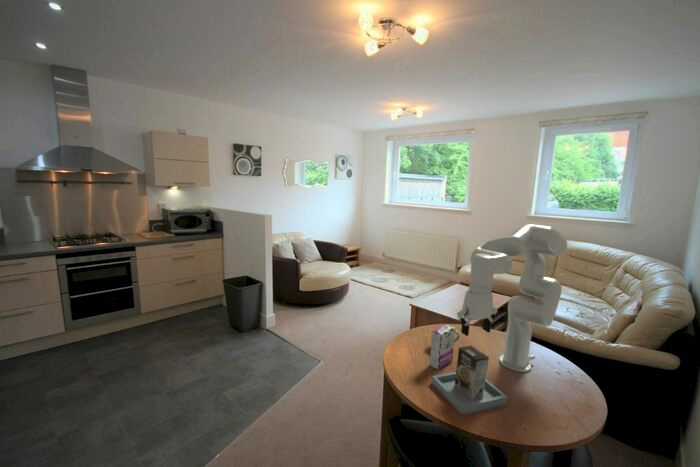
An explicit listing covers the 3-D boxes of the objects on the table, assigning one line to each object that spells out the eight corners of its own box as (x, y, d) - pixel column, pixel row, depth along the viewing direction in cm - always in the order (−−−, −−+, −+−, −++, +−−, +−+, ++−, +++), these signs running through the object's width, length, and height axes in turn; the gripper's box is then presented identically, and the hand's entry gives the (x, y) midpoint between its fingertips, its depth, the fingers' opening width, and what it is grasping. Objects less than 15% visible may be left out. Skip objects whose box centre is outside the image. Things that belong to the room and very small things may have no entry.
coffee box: (453, 385, 121) (458, 347, 119) (466, 382, 124) (471, 344, 121) (470, 400, 113) (475, 359, 111) (484, 397, 115) (489, 356, 113)
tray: (472, 375, 130) (473, 368, 130) (506, 404, 113) (507, 396, 113) (431, 383, 124) (432, 376, 123) (461, 415, 107) (462, 407, 106)
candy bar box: (442, 357, 143) (446, 323, 141) (452, 362, 140) (456, 327, 137) (428, 365, 136) (431, 330, 133) (438, 370, 132) (442, 334, 130)
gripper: (491, 283, 118) (486, 325, 121) (453, 286, 113) (449, 330, 116) (507, 289, 111) (501, 334, 114) (467, 294, 106) (462, 340, 109)
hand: (475, 332), depth 115 cm, fingers open, 9 cm apart
